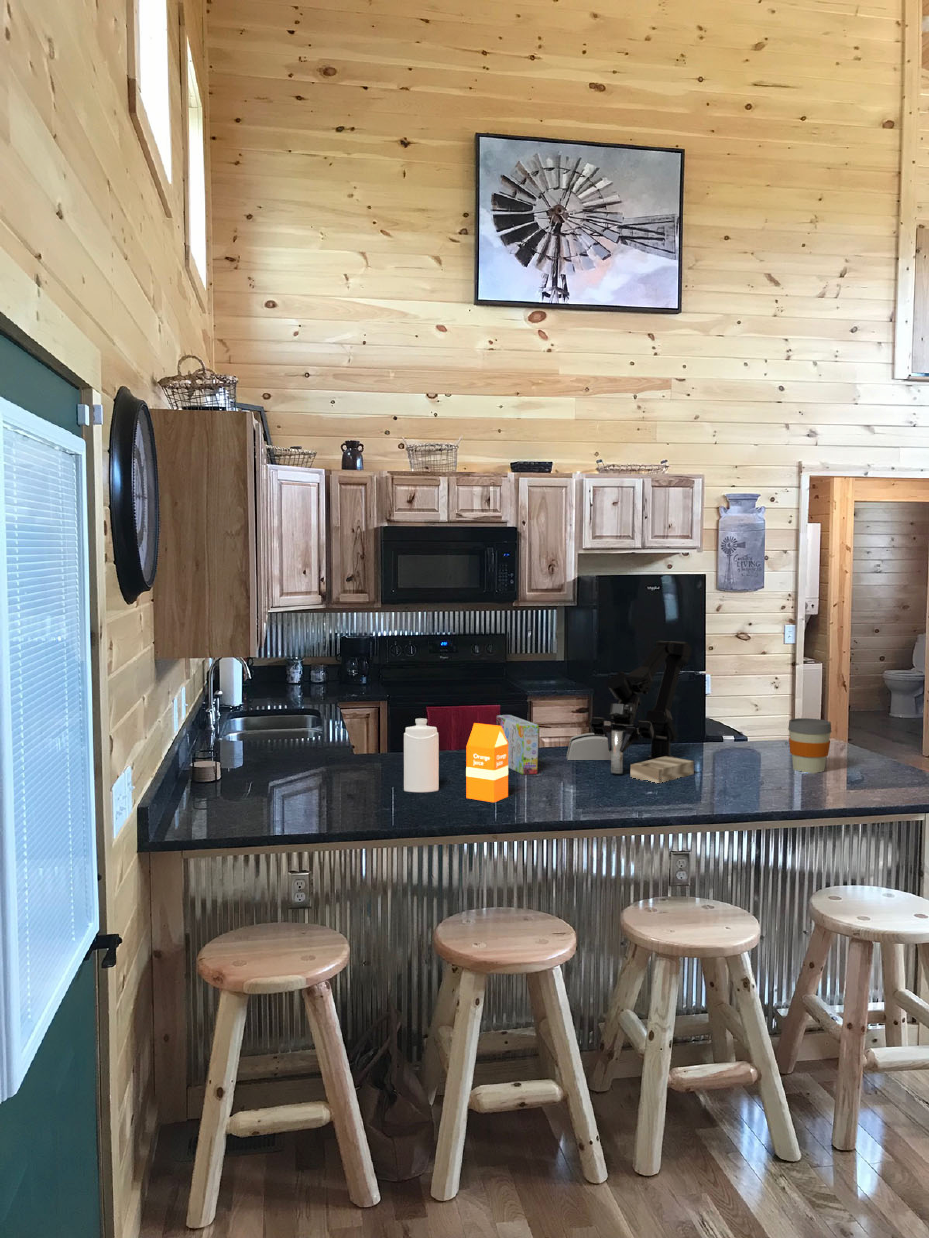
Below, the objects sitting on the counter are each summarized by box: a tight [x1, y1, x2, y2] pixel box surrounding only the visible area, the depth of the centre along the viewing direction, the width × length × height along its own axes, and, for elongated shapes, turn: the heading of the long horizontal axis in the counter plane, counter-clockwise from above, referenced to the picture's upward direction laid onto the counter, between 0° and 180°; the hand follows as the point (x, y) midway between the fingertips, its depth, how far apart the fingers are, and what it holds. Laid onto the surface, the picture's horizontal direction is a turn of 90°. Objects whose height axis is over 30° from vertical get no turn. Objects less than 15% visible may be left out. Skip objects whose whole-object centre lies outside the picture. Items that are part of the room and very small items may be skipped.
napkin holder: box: [565, 732, 611, 761], centre depth 316 cm, size 17×5×10 cm, turn 94°
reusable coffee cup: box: [787, 717, 832, 774], centre depth 302 cm, size 13×13×15 cm
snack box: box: [495, 714, 540, 776], centre depth 304 cm, size 21×6×15 cm, turn 22°
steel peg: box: [610, 730, 624, 774], centre depth 294 cm, size 4×4×12 cm
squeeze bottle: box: [403, 717, 440, 793], centre depth 274 cm, size 10×20×5 cm
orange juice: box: [465, 722, 509, 803], centre depth 267 cm, size 8×9×20 cm
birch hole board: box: [629, 756, 695, 784], centre depth 293 cm, size 18×10×4 cm, turn 134°
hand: (615, 751), depth 293 cm, fingers closed on steel peg, 3 cm apart
